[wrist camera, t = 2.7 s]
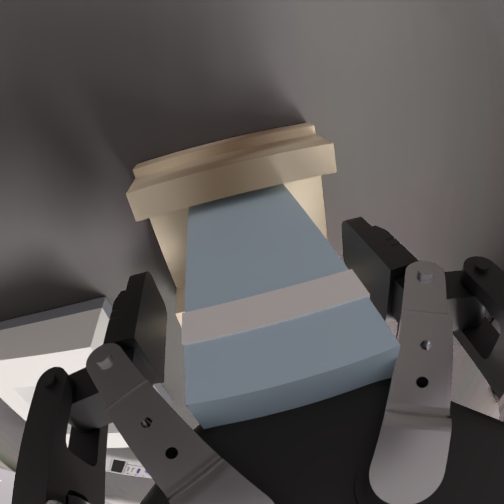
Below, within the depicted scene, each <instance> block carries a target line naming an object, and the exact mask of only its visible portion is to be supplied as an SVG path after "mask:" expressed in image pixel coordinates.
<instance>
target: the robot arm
mask: <svg viewBox="0 0 504 504" xmlns="http://www.w3.org/2000/svg"><path fill="white" fill-rule="evenodd" d="M342 240H343V257H344V262H345V265H346V266H347V268H348V269H349V270H350V269H352V270H353V271H354V273H355V274H356V275H357V277H358V278H359V280H360V281H361V282H362V284H363V285H364V286H365V288H366V289H367V291H368V292H369V293H370V300H371V302H372V303H373V305H374V306H375V308H376V309H377V311H378V312H379V313H380V315H381V316H382V318H383V319H384V321H385V322H386V323H388V322H390V321H393V320H396V321H397V322H398V327H397V334H396V339H397V340H398V342H399V344H400V350H399V354H398V357H397V358H396V359H395V363H394V367H393V371H392V376H391V378H389V379H384V380H380V381H377V382H374V383H371V384H368V385H365V386H363V387H360V388H357V389H354V390H351V391H349V392H346V393H343V394H340V395H337V396H334V397H331V398H328V399H324V400H321V401H318V402H315V403H311V404H308V405H305V406H301V407H298V408H294V409H290V410H287V411H283V412H279V413H275V414H271V415H267V416H263V417H259V418H254V419H250V420H245V421H240V422H235V423H230V424H225V425H220V426H215V427H211V428H207V429H203V428H202V426H201V425H199V426H197V427H196V428H195V429H194V430H192V429H191V427H190V426H189V425H188V424H187V423H186V422H185V421H184V420H183V419H182V418H181V417H180V416H179V415H178V414H177V413H176V412H175V411H174V410H173V408H172V407H171V406H170V405H169V404H168V403H167V402H166V401H165V400H164V398H163V397H162V396H161V395H160V394H159V393H158V392H157V390H156V389H155V388H154V387H153V384H156V383H162V382H164V363H165V341H166V324H167V312H166V307H165V304H164V302H163V299H162V297H161V295H160V293H159V291H158V289H157V286H156V284H155V282H154V280H153V278H152V276H151V274H150V273H149V272H148V271H147V272H143V273H140V274H136V275H132V276H130V277H129V281H128V285H127V288H126V290H125V291H121V292H120V294H119V295H118V297H117V298H116V299H115V301H114V304H113V307H112V312H111V315H110V320H109V322H108V326H107V330H106V334H105V338H104V342H103V345H101V346H99V347H98V348H96V349H95V350H94V351H93V352H92V353H91V354H90V355H89V357H88V359H87V362H86V367H85V368H83V369H81V370H78V371H76V372H74V373H72V374H70V375H68V373H67V372H66V371H65V370H64V369H63V368H61V367H52V368H50V369H48V370H47V371H45V372H44V373H43V374H42V375H41V376H40V378H39V380H38V381H37V384H36V387H35V391H34V394H33V398H32V401H31V405H30V409H29V413H28V416H27V420H26V424H25V429H24V433H23V437H22V442H21V447H20V452H19V457H18V462H17V468H16V474H15V481H14V488H13V497H12V504H105V468H106V451H107V437H108V425H109V424H110V423H112V422H113V423H114V425H115V426H116V428H117V430H118V431H119V433H120V434H121V436H122V437H123V439H124V440H125V442H126V443H127V445H128V446H129V448H130V449H131V450H132V452H133V453H134V455H135V456H136V457H137V459H138V460H139V462H140V463H141V464H142V466H143V467H144V468H145V470H146V471H147V472H148V474H149V475H150V476H151V477H152V479H153V480H154V481H155V484H154V485H153V487H152V488H151V489H150V491H149V492H148V493H147V495H146V496H145V498H144V499H143V500H142V502H141V503H140V504H504V272H503V271H502V270H501V269H500V268H499V267H498V266H497V265H495V264H494V263H493V262H492V261H490V260H489V259H487V258H484V257H478V256H475V257H470V258H468V259H466V260H465V262H464V265H463V270H462V271H452V272H444V271H443V269H442V268H441V267H440V266H438V265H437V264H435V263H432V262H429V261H418V260H417V259H416V258H415V257H414V256H413V255H412V254H411V253H410V252H409V251H408V250H407V249H406V248H405V247H404V246H403V245H402V244H400V243H399V242H398V241H397V240H396V239H394V237H393V236H392V235H391V234H390V233H389V232H388V231H387V230H384V229H382V228H380V227H377V226H373V227H372V226H371V225H370V224H368V223H367V222H366V221H365V220H364V219H363V218H362V217H358V218H354V219H350V220H346V221H343V222H342ZM486 311H488V312H489V313H490V314H491V315H492V316H493V317H494V320H493V322H492V323H490V322H489V321H488V319H487V318H486V317H485V313H486ZM453 334H454V336H455V337H456V338H457V340H458V341H459V342H460V344H461V345H462V346H463V348H464V349H465V350H466V352H467V353H468V355H469V356H470V357H471V359H472V360H473V361H474V363H475V364H476V366H477V367H478V369H479V370H480V371H481V373H482V374H483V376H484V377H485V379H486V380H487V382H488V383H489V385H490V386H491V388H492V389H493V391H494V392H495V394H496V395H497V397H498V398H499V400H500V401H499V412H500V416H499V420H498V419H495V418H492V417H490V416H487V415H485V414H482V413H480V412H477V411H474V410H472V409H469V408H467V407H464V406H462V405H460V404H457V403H455V402H452V401H451V390H452V371H453ZM68 423H69V424H70V425H71V432H70V438H69V445H68V447H67V444H66V434H67V428H68Z"/></svg>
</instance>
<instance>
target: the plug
mask: <svg viewBox="0 0 504 504" xmlns="http://www.w3.org/2000/svg"><path fill="white" fill-rule="evenodd" d="M182 346H183V348H184V350H185V392H186V406H187V407H188V409H189V410H190V411H191V413H192V414H193V416H194V417H195V418H196V420H197V421H198V422H199V424H200V425H201V426H202V428H203V429H207V428H211V427H215V426H220V425H225V424H230V423H235V422H240V421H245V420H250V419H254V418H259V417H263V416H267V415H271V414H275V413H279V412H283V411H287V410H290V409H294V408H298V407H301V406H305V405H308V404H311V403H315V402H318V401H321V400H324V399H328V398H331V397H334V396H337V395H340V394H343V393H346V392H349V391H351V390H354V389H357V388H360V387H363V386H365V385H368V384H371V383H374V382H377V381H380V380H384V379H389V378H391V376H392V371H393V367H394V363H395V359H396V358H397V357H398V354H399V350H400V344H399V342H398V340H397V339H396V337H395V336H394V334H393V333H392V331H391V330H390V328H389V327H388V325H387V324H386V322H385V321H384V319H383V318H382V316H381V315H380V313H379V312H378V311H377V309H376V308H375V306H374V305H373V303H372V302H371V300H370V293H369V292H368V291H367V289H366V288H365V286H364V285H363V284H362V282H361V281H360V280H359V278H358V277H357V275H356V274H355V273H354V271H353V270H352V269H350V270H349V269H348V268H347V266H346V265H345V264H344V262H343V261H342V260H341V258H340V257H339V255H338V254H337V253H336V251H335V250H334V249H333V247H332V246H331V245H330V243H329V242H328V241H327V239H326V238H325V237H324V235H323V234H322V233H321V231H320V230H319V229H318V227H317V226H316V225H315V223H314V222H313V221H312V220H311V218H310V217H309V216H308V214H307V213H306V212H305V211H304V209H303V208H302V207H301V205H300V204H299V203H298V202H297V200H296V199H295V198H294V197H293V195H292V194H291V193H290V192H289V190H288V189H287V188H286V187H285V185H284V184H279V185H275V186H271V187H266V188H262V189H258V190H254V191H249V192H245V193H241V194H237V195H233V196H229V197H225V198H221V199H217V200H213V201H210V202H206V203H202V204H198V205H194V206H191V207H189V210H188V228H187V249H186V277H185V313H182Z"/></svg>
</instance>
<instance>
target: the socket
mask: <svg viewBox="0 0 504 504" xmlns="http://www.w3.org/2000/svg"><path fill="white" fill-rule="evenodd" d="M111 312H112V306H111V305H110V303H109V301H108V299H107V298H106V296H105V297H101V298H97V299H93V300H89V301H85V302H80V303H76V304H72V305H68V306H64V307H60V308H56V309H52V310H47V311H43V312H39V313H35V314H31V315H27V316H22V317H18V318H14V319H10V320H6V321H1V322H0V398H1V399H3V400H4V401H5V402H6V403H7V404H8V405H9V406H10V407H11V408H12V409H13V410H14V411H15V412H16V413H17V414H18V415H20V416H21V417H22V418H23V419H24V420H25V421H26V420H27V416H28V413H29V409H30V405H31V401H32V398H33V394H34V391H35V387H36V384H37V381H38V380H39V378H40V376H41V375H42V374H43V373H44V372H45V371H47V370H48V369H50V368H52V367H61V368H63V369H64V370H65V371H66V372H67V373H68V375H70V374H72V373H74V372H76V371H78V370H81V369H83V368H85V367H86V362H87V359H88V357H89V355H90V354H91V353H92V352H93V351H94V350H95V349H96V348H98V347H99V346H101V345H103V342H104V338H105V334H106V330H107V326H108V322H109V320H110V315H111ZM153 387H154V388H155V389H156V390H157V392H158V393H159V394H160V395H161V396H162V397H163V398H164V400H165V401H166V402H167V403H168V404H169V405H170V406H171V407H172V408H173V400H172V399H171V397H170V396H169V394H168V393H167V392H166V390H165V389H164V388H163V386H162V385H161V383H156V384H153ZM70 432H71V425H70V424H69V423H68V428H67V434H66V444H67V447H68V445H69V438H70ZM126 447H129V446H128V445H127V443H126V442H125V440H124V439H123V437H122V436H121V434H120V433H119V431H118V430H117V428H116V426H115V425H114V423H113V422H112V423H110V424H109V425H108V437H107V448H126Z"/></svg>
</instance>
